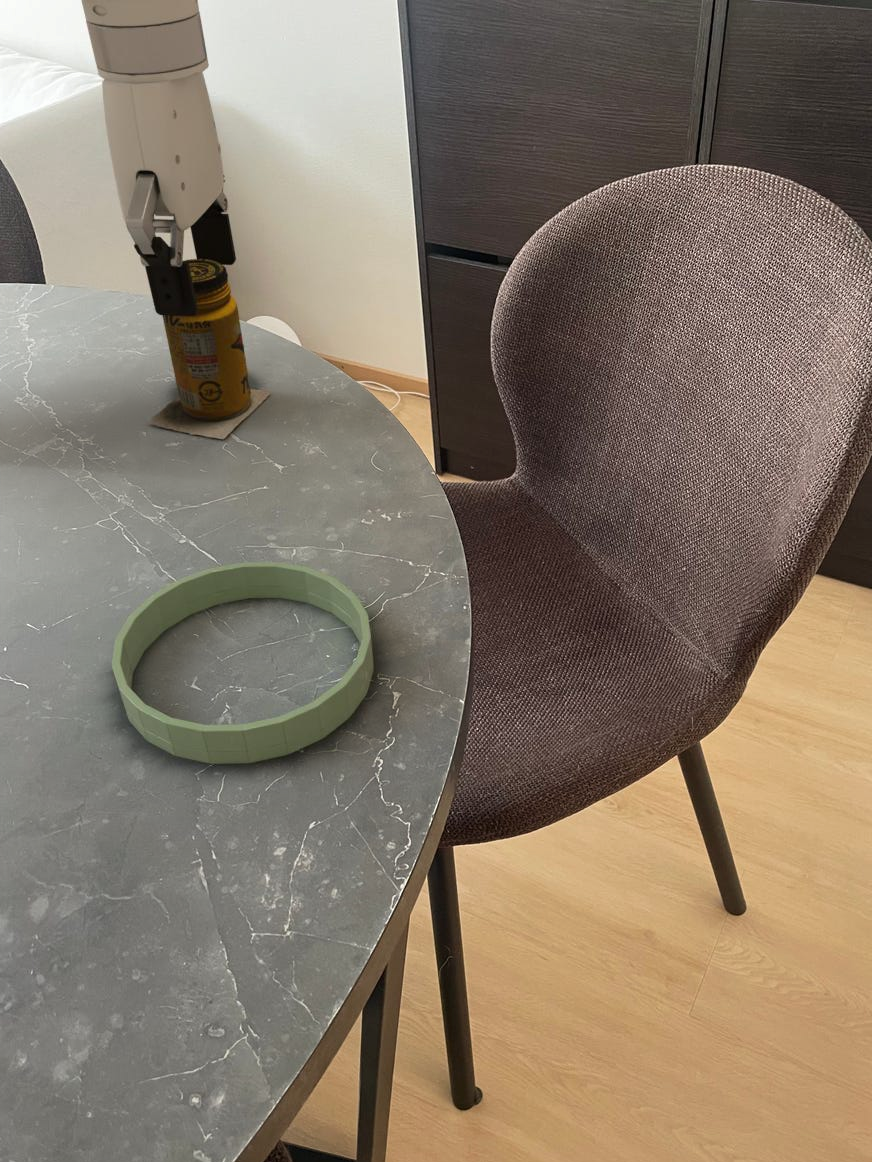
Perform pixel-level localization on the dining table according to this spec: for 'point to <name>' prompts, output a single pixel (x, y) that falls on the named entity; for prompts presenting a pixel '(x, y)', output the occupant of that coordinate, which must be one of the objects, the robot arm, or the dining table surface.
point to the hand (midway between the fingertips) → (198, 287)
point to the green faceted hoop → (261, 735)
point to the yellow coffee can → (208, 360)
